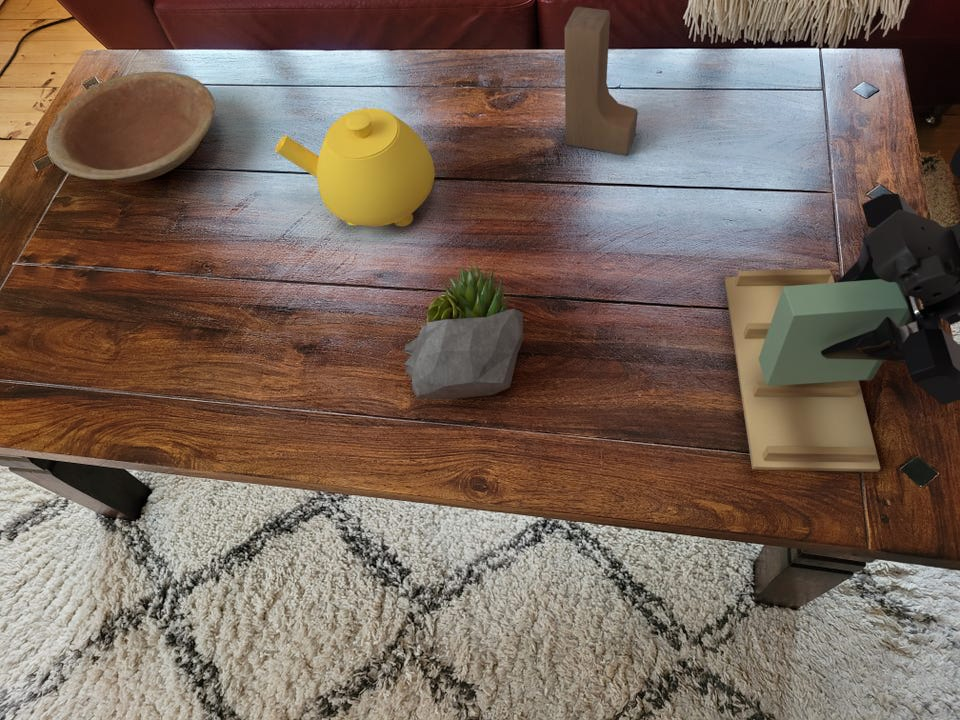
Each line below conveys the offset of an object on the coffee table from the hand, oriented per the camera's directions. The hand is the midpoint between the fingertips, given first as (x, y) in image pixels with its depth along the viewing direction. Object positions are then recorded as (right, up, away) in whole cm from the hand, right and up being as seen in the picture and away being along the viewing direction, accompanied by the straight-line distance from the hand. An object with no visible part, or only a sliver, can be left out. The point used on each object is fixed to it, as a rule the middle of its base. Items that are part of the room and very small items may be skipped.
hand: (818, 331), depth 64 cm
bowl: (-81, +28, +41) cm, 95 cm away
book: (+2, -4, +5) cm, 7 cm away
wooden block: (-15, +28, +33) cm, 45 cm away
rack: (+3, -3, +11) cm, 12 cm away
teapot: (-47, +20, +32) cm, 60 cm away
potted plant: (-33, -3, +16) cm, 37 cm away
